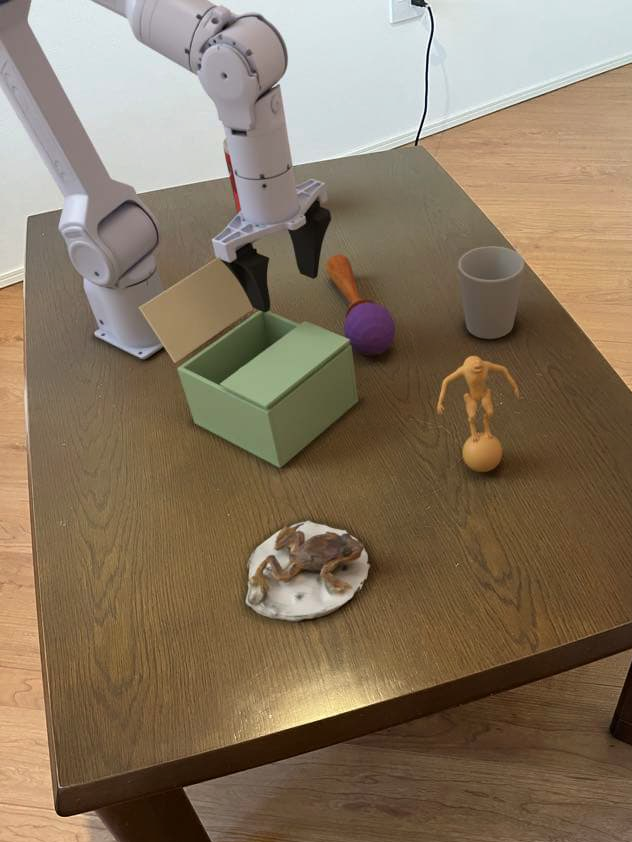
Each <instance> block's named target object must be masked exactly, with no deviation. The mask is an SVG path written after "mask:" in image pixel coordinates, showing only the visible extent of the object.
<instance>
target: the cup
mask: <svg viewBox="0 0 632 842" xmlns="http://www.w3.org/2000/svg"><path fill="white" fill-rule="evenodd" d="M525 266H526V265H525V260H524V258H523V257H522V255H521V254H519V252H517V251H516V250H513V249H511V248H508V247H503V246H495V245H492V246H491V245H490V246H488V245H487V246H481V247H476V248H473V249H471V250H469V251H466V252H465V253H464V254H463V255H462V256H460V258H459V260H458V263H457V269H458V276H459V277H458V278H459V286H460V294H461V301H462V302H461V303H462V308H463V314H464V321H465V326H466V330H467V332H469V333H470V334H471V335H472V336H475V337H476V338H480V339H485V340H495V339H499V338H502V337H504V336H507V335H508V334H509V333H511V331H512V330H513V328H514V323H515V319H516V314H517V309H518V305H519V300H520V297H521V296H520V295H521V289H522V283H523V277H524V271H525Z"/></svg>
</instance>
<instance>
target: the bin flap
mask: <svg viewBox="0 0 632 842" xmlns="http://www.w3.org/2000/svg"><path fill="white" fill-rule="evenodd" d="M139 309H140V310H141V312H142V313H143V315H144V317H145V318H146V320H147V321H148V323H149V324H150V326H151V327H152V329H153V330H154V332H155V334H156V335H157V337H158V338H159V340H160V341H161V343H162V344H163V346H164V347H163V348H164V349H165V351H166V352H167V354H168V355H169V356H170V358H171V360H172V362H173V363H177V362H179V361H181V360H182V359H183V358H185V357H186V356H188V355H189V354H190V353H192V352H194V351H195V350H196V349H198V348H199V347H200V346H202V345H203V344H205V343H207V342H208V341H209V340H210V339H212V338H214V337H215V336H216V335H217V334H219V333H220V332H222V331H223V330H225V329H226V328H228V327H230V326H231V325H232V324H234V323H235V322H237V321H238V320H239V319H241V318H243V316H245V315H246V314H248V313H250V311H252V310H253V309H254V308H253V307H252V305H251V303H250V301H249V299H248V297H247V295H246V293H245V291H244V290H243V288H242V286H241V285H240V283H239V281H238V280H237V279H236V277H235V276H234V274H233V273H232V272H231V271H230V270H229V268H228V267H227V266H226V265H225V264H224V263H223V262H222V261H221V260H220V259H219V258H217V257H215V259H213V260H211V261H210V262H209V263H207V264H205V265H204V266H202V267H200V268H199V269H198V270H196V271H194V272H193V273H191V274H190V275H188V276H186V277H185V278H183V279H182V280H180V281H179V282H177V283H175V284H173V285H172V286H171V287H169V288H167V289H166V290H164V292H163V293H161V294H160V295H158V296H156V297H155V298H153V299H152V300H150V301H149V302H147V303H145V304H144V305H142V306H141V307H139Z"/></svg>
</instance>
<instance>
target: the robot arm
mask: <svg viewBox="0 0 632 842" xmlns="http://www.w3.org/2000/svg"><path fill="white" fill-rule="evenodd" d="M32 1H33V0H0V89H1V90H2V92H3V94H4V95H5V97H6V99H7V101H8V103H9V104H10V106H11V107H12V108H11V109H13V111H14V113H15V114H16V116H17V118H18V120H19V122H20V123H21V125H22V127H23V128H24V130H25V133H26V134H27V136H28V137H29V139H30V141H31V143H32V145H34V147H35V149H36V151H37V152H38V155H39V156H40V158H41V160H42V161H43V163H44V165H45V167H46V168H47V171H48V172H49V174H50V175H51V178H52V179H53V181H54V182H55V184H56V185H57V188H58V189H59V191H60V193H61V194H62V197H64V201H63V206H62V210H61V214H60V218H59V223H58V231H59V233H60V234H61V236H62V237H63V239H64V241H65V243H66V247H67V252H68V256H69V259H70V261H71V263H72V265H73V267H74V268H75V270H76V271H77V272H78V273H79V274H80V275H81V276H82V277H83V288H84V292H85V295H86V298H87V300H88V303H89V305H90V308H91V310H92V313H93V315H94V318H95V321H96V324H97V326H98V329H96V330H95V331H94V334H93V335H94V336H95V337H96V338H97V339H100V340H102V341H104V342H106V343H108V344H110V345H112V346H114V347H116V348H118V349H120V350H122V351H124V352H126V353H128V354H130V355H132V356H134V357H136V358H138V359H140V360H146V359H149V358H150V357H151V356H153V355H154V354H155V353H157V352H158V351H160V350H162V349H163V348H165V347H164V346H163V344H162V343H161V341H160V340H159V338H158V337H157V335H156V334H155V332H154V330H153V329H152V327H151V326H150V324H149V323H148V321H147V320H146V318H145V317H144V315H143V313H142V312H141V310H140V309H139V307H141V306H142V305H144V304H145V303H147V302H149V301H150V300H152V299H153V298H155V297H156V296H158V295H160V294H161V293H163V292H164V291H165V289H164V285H163V282H162V279H161V275H160V272H159V269H158V265H157V263H156V262H157V260H158V259H159V255H158V252H157V249H156V248H158V247H159V246H160V244H161V242H162V230H161V226H160V223H159V221H158V219H157V217H156V216H155V214H154V213H153V212H152V211H151V210H150V209H149V207H148V206H146V205H145V204H144V203H143V201H142V200H141V198H140V196H139V195H138V193H137V191H136V190H135V187H134V186H132V185H130V184H127V183H125V182H122V181H118V180H116V179H113V178H111V176H110V174H109V172H108V170H107V168H106V166H105V164H104V163H103V160H102V158H101V157H100V155H99V153H98V152H97V149H96V147H95V146H94V144H93V142H92V140H91V138H90V136H89V135H88V133H87V131H86V129H85V127H84V124H83V123H82V121H81V119H80V118H79V116H78V114H77V112H76V110H75V108H74V107H73V105H72V103H71V101H70V99H69V97H68V94H67V93H66V92H65V90H64V87H63V86H62V84H61V82H60V79H59V78H58V75H56V73H55V70H54V69H53V67H52V65H51V63H50V61H49V59H48V58H47V56H46V54H45V52H44V50H43V48H42V47H41V44H40V43H39V40H38V39H37V36H36V35H35V33H34V31H33V29H32V27H31V26H30V24H29V14H30V11H31V10H30V9H31V6H32ZM90 1H91V2H93V3H94V4H96V5H99V6H101V7H103V8H105V9H107V10H108V11H111V12H113V13H115V14H117V15H119V16H120V17H123V18H125V19H127V21H128V23H129V26H130V29H131V32H132V34H133V36H134V38H135V39H136V40H137V41H138V42H139V43H141V44H143V45H144V46H145V47H148V48H149V49H150V50H152V51H154V52H156V53H158V54H159V55H161V56H163V57H165V58H166V59H168V60H169V61H172V62H173V63H175V64H177V65H178V66H180V67H182V68H183V69H185V70H187V71H189V72H190V73H192V74H193V75H195V76H197V77H198V80H199V83H200V85H201V87H202V88H203V90H204V92H205V93H206V95H207V96H208V97H209V98H210V99H211V101H212V102H213V104H214V105H215V106H214V107H215V109H216V111H217V112H216V113H217V118H218V120H219V121H221V122H222V123H221V124H222V127H223V129H224V135H225V138H226V140H227V144H228V149H229V154H230V159H231V163H232V168H233V173H234V178H235V183H236V188H237V192H238V197H239V202H240V207H241V211H240V212H239V213H237V214H236V215H235V216H234V217H233V219H232V220H231V221H230V222H229V223H228V224H227V226H226V227H225V228H224V229H223V230H222V231H221V232H220V233H219V234H217V235H216V236H215V237H213V238H212V239H211V244H212V246H213V250H214V254H215V258H219V259H220V260H221V261H222V262H223V263H224V264H225V265H226V266H227V267H228V268H229V270H230V271H231V272H232V273H233V274H234V276H235V277H236V279H237V280H238V281H239V283H240V285H241V286H242V288H243V290H244V291H245V293H246V295H247V297H248V299H249V301H250V303H251V305H252V307H253V309H255V310H258V311H262V312H264V313H266V312H268V311H270V310H271V298H270V291H269V287H268V286H269V285H268V267H269V263H270V257H268V256H266V255H263V254H261V253H259V252H258V250H257V248H254V245H253V244H255V243H256V242H257V241H259V240H261V239H262V238H265V237H268V236H271V235H274V234H277V233H279V232H283V231H285V230H287V232H288V234H289V236H290V237H289V238H290V240H291V243H292V247H293V252H294V258H295V261H296V266H297V269H298V272H299V274H300V275H303V276H305V277H308V278H310V279H312V280H315V279H316V278H318V275H319V268H320V267H319V266H320V260H321V259H320V258H321V252H322V247H323V243H324V239H325V236H326V233H327V230H328V229H329V226H330V224H331V221H332V214H331V211H330V210H329V209H328V208H325V207H322V206H321V205H323V204H324V203H326V202H328V195H327V186H326V183H325V182H323V181H320V180H316V179H313V178H310V179H308V180H306V181H304V182H302V183H300V184H297V185H296V178H295V173H294V167H293V166H294V165H293V160H292V153H291V147H290V140H289V135H288V133H289V132H288V128H287V122H286V114H285V108H284V102H283V95H282V89H281V84H280V83H279V82H280V80H281V79H282V78H283V77H284V75H285V74H286V72H287V69H288V64H289V53H288V48H287V45H286V42H285V40H284V38H283V35H282V34H281V32H280V31H279V29H278V28H277V27H276V26H275V25H274V24H273V23H272V22H271V21H269V20H268V19H267V18H265V17H264V15H263V14H262V13H259V12H254V11H249V12H245V13H242V14H237V13H234V12H232V11H231V9H229V8H227V7H226V6H224V5H223V4H220V5H216V4H215V3H213V2H211V1H209V0H90Z"/></svg>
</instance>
